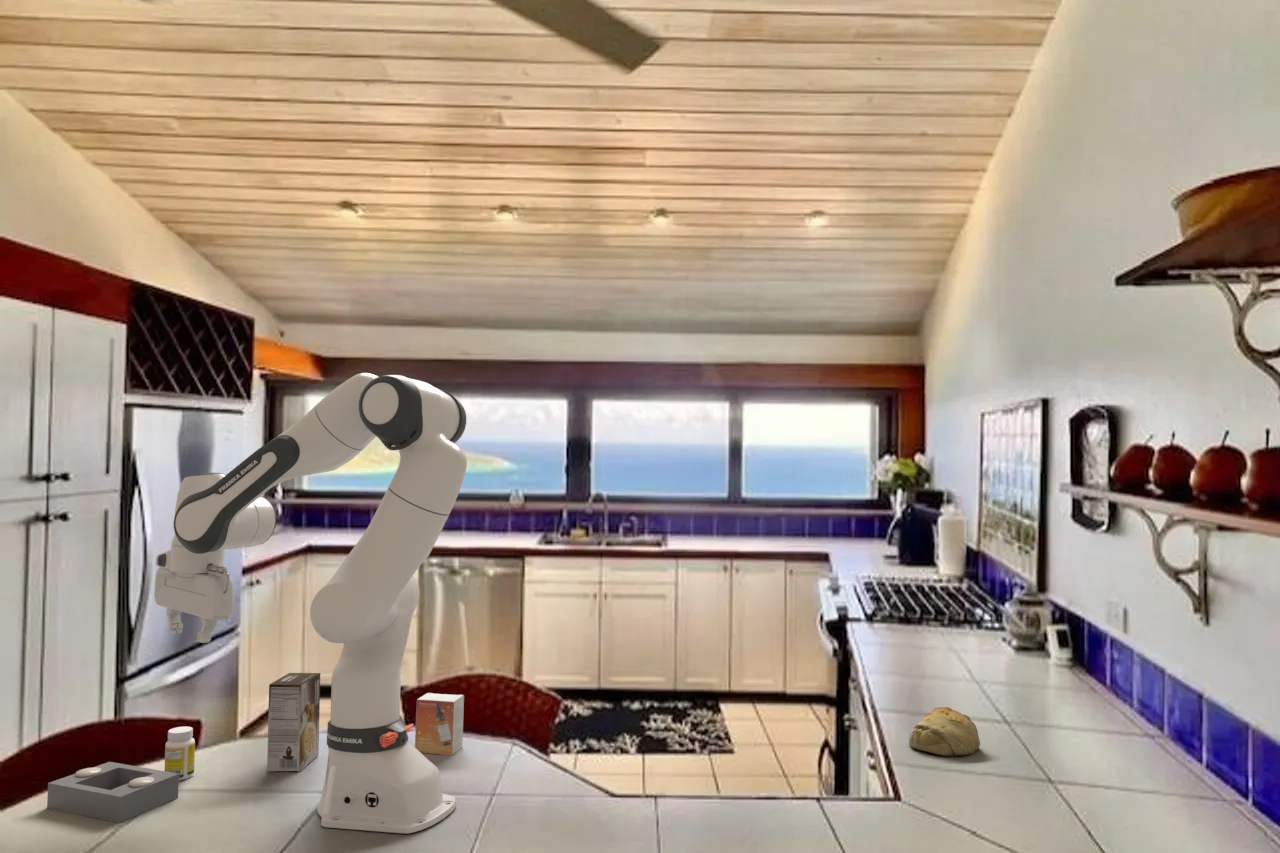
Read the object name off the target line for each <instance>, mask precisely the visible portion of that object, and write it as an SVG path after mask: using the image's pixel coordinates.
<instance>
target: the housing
mask: <svg viewBox="0 0 1280 853" xmlns="http://www.w3.org/2000/svg"><path fill="white" fill-rule="evenodd" d="M179 782H180V780H179V774H177V773H172V772H166V771H165V770H160V769H154V768H147V767H142V766H136V765H131V764H126V763H119V762H113V761H108V762H105V763H101V764H99V765H96V766H94V767H86V768H82V769H79V770H77V771H76V772H75V773H73V774H70V775H67V776H65V777H61V778H59V779H56V780H53V781H51V782H48V783H47V803H46V804H47V805H46V808H47V809H50V810H51V809H52V810H56V811H60V812H64V813H65V812H66V813H70V814H76V815H79V814H80V816H86V817H89V818H90V817H91V818H94V819H99V820H104V821H109V822H113V823H118V824H119V823H123V822H125V821H127V820H129V819H132V818H133V817H136V816H138V815H141V814H143V813H146V812H148V811H150V810H153V809H156V808H157V807H160V806H162V805H164V804H167V803H169V802H172V801H174V800H176V799H179V786H180V783H179Z"/></svg>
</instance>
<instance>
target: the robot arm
mask: <svg viewBox="0 0 1280 853" xmlns="http://www.w3.org/2000/svg"><path fill="white" fill-rule="evenodd" d="M466 426H467V413H466V410H465V407H464V405H463V404H462V403H461V401H460V400H459V399H458V398H456V397H455V396H454V395H453V394H451V393H450V392H449V391H448V392H447V391H445V390H441V389H440V388H438V387H435V386H433V385H432V384H430V383H429V382H425V381H422V380H419V379H414V378H409V377H406V376H405V375H401V374H387V375H382V376H379V375H375V374H373V373H369V372H360V373H357V374H355V375H353V376H352V377H350V378H348V379H346V380H345V381H344V382H342V383H341V384H338V386H336V387H335V388H334V389H333V390H331V391H330V392H329V393H328V394H326V395H325V396H324V397H323V398H322V399H321V400H320V401H319V402H317V403H316V405H314V407H313V408H311V409H310V410H309V411H308V412H307V413H306V414H304V415H303V416H302V417H301V418H300V419H299V420H297V421H296V422H295V423H294V424H293V425H291V426H289V428H287V429H286V430H285V431H283V432H282V433H280V434H279V435H277V436H276V437H274V438H273V439H271V440H269V441H268V442H267V443H265V444H264V445H262V446H261V447H259V448H258V449H257V450H255V451H254V452H253V453H251V455H249V456H248V457H247V458H245V459H244V460H242V461H241V462H240V463H239V464H237V466H235V467H234V468H232V470H230V471H229V472H228V473H227V474H225V473H221V472H201V473H194V474H193V473H192V474H190V475H188V476H186V477H184V478H183V480H182V482H181V483H180V486H179V489H178V493H177V496H176V497H177V498H176V502H175V509H174V517H173V530H174V536H173V538H172V541H171V547H170V549H168V550H167V551H164V552H161V553H158V554H157V555H156V557H155V566H156V567H157V568H158V569H157V570H156V573H155V580H154V581H155V582H154V591H153V592H154V593H153V594H154V601H155V603H156V605H157V606H160V607H163V608H166V616H167V620H168V625H169V626H168V633H170V634H173V635H177V634H179V635H180V634H182V633H183V631H184V630H183V628H184V623H182V619H181V614H182V613H185V614H188V615H192V616H196V617H199V618H201V624H202V626H201V629H200V631H197V635H196V637H197V638H196V641H197V642H199V643H202V644H205V643H210V642H211V641H212V634H213V631H214V630H215V628H216V625H217V624H218V621H222V620H229V619H230V618H231V616H232V614H233V606H234V605H233V604H234V585H233V579H232V578H231V575H230V574H229V572H228V571H227V570H228V569H227V567H224V563H225V555H226V550H232V549H233V550H234V549H235V550H237V549H241V548H242V549H243V548H249V547H256V546H259V545H263V544H264V543H266V542H267V541H268V540H269V539H270V538H271V537H272V535H273V534H274V531H275V529H276V525H277V524H276V523H277V514H276V511H275V508H274V506H273V504H272V503H271V501H270V500H269V499H267V498H266V497H264V496H263V495H264V494H266V493H267V492H268V491H269V490H270V489H272V488H273V487H275V486H276V485H279V484H281V483H283V482H286V481H289V480H292V479H296V478H300V477H304V476H305V477H306V476H310V475H317V474H322V473H329V472H332V471H336V470H337V469H339V468H340V467H342V466H344V465H345V464H348V463H349V462H350V461H351V460H353V459H354V458H355V457H357V456H358V455H359V453H361V452H362V451H363V450H364V449H365V448H366V447H367V446H368V445H369V444H370V443H371V442H372V441H373V440H375V438H378V439H379V441H380V442H381V443H382V444H383V445H384V447H386V449H388V450H389V451H398V453H399V463H398V467H397V469H396V471H395V473H394V475H393V478H392V479H391V481H390V484H389V486H388V487H387V489H386V491H385V493H384V495H383V497H382V499H381V501H380V503H379V504H378V507H377V509H376V511H375V513H374V515H373V517H372V518H371V521H370V522H369V524H368V526H367V528H366V529H365V531H364V532H363V534H362V535H361V537H360V538H359V540H358V541H357V542H356V544H355V545H354V546H353V548H352V549H351V550H350V552H349V553H348V554H347V556H346V558H345V559H344V560H343V562H342V563H341V565H340V566H339V567H338V569H337V570H336V571H335V573H334V574H333V575H332V577H331V578H330V580H329V581H328V582H327V583H326V584H325V585H324V586H322V588H321V589H320V590H319V591H318V592H316V594H315V595H314V596H313V600H312V602H311V604H310V609H309V611H310V612H309V613H310V614H309V617H310V622H311V625H312V628H314V630H315V631H316V633H317V634H318V636H320V637H321V638H322V639H323V640H325V641H327V642H330V643H333V644H343V647H342V649H341V652H340V655H339V659H338V661H337V663H336V665H335V666H334V668H333V671H332V675H331V686H330V687H331V688H330V689H331V690H330V692H331V693H330V720H329V721H327V729H326V731H327V732H326V745H327V748H328V756H327V763H326V770H325V772H326V773H325V778H324V781H323V782H324V783H323V788H322V792H321V796H320V800H319V803H318V805H317V808H316V811H317V814H318V815H319V817H320V818H321V819H320V820H321V821H320V825H321V827H324V828H329V829H330V828H333V829H344V830H357V831H358V830H359V831H368V832H380V833H381V832H383V833H393V834H394V833H395V834H411V833H416V832H419V831H422V830H424V829H427V828H430V827H431V826H434V825H435V824H437V823H439V822H441V821H442V820H444V819H445V818H446V817H448V816H449V815H450V814H451V813H452V812H453V811H454V810H455V808H456V806H457V803H456V797H455V796H453V795H450V794H447V793H443V785H442V784H443V783H442V777H441V773H440V770H439V768H438V767H437V766H436V765H435V764H434V763H433V762H432V761H430V760H429V759H428V758H427V757H426V756H425V755H424V753H421V752H419V751H418V750H417V749H416V748H415V745H413V744H412V743H411V742H410V741H409V735H408V733H409V732H411V731H414V728H412V727H413V726H414V723H410V724H408V725H406V726H405V722H404V720H403V718H402V716H401V715H400V713H401V711H400V710H401V709H400V708H401V706H400V705H401V684H402V683H401V682H402V680H401V679H402V670H403V662H404V658H405V651H406V647H407V643H408V637H409V633H410V628H411V623H412V618H413V615H414V612H415V610H416V608H417V607H418V605H419V604H418V603H419V602H420V594H421V593H420V587H419V584H418V582H417V579H416V578H415V577H414V574H415V572H416V571H417V570H418V569H419V568H420V566H421V565H422V564H423V563H424V562H425V560H427V558H428V557H429V556H430V554H431V552H432V550H433V549H434V546H435V544H436V542H437V541H438V539H439V536H440V535H441V532H442V531H443V528H444V526H445V524H446V522H447V521H448V519H449V517H450V514H451V512H452V510H453V507H454V505H455V504H456V500H457V498H458V497H459V493H460V490H461V488H462V486H463V481H464V479H465V476H466V472H467V467H468V459H467V457H466V456H467V455H466V454H465V452H464V451H463V450H462V448H461V447H459V446H458V445H457V444H456V443H457V442H458V441H459V440H460V438H462V436H463V435H464V432H465V430H466Z"/></svg>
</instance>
